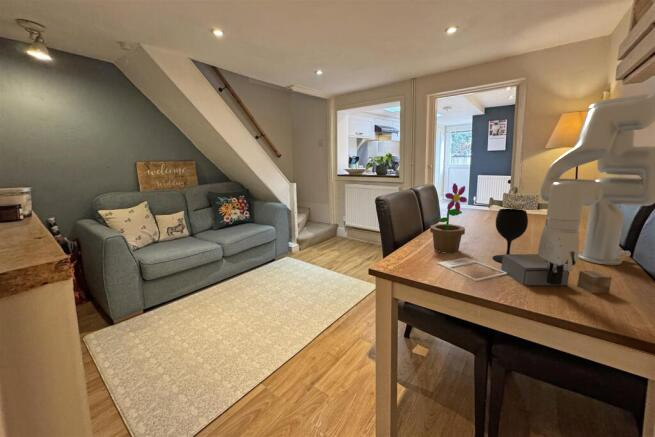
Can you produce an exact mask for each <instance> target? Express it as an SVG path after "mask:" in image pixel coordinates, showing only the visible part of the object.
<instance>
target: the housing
mask: <svg viewBox="0 0 655 437" xmlns="http://www.w3.org/2000/svg"><path fill="white" fill-rule="evenodd" d="M502 255H503V257H502V263H501V267H500V268H501V269H500V270H501V271H504V272H507V273H508V274H507V275H508V276H509V277H511V278H512V279H514V280H515V281H516V282H519V284H521V285H523V286H526V285H525V284H524V283H525V275H526V271H527V270H548V269H547V262H546V261H545V260H544V259H543V258H541V257H540V256H539V255H538V253H533V254H532V253H531V254H530V253H528V254H527V253H523V254H521V253H520V254H518V253H517V254H516V253H515V254H506V253H505V254H502Z"/></svg>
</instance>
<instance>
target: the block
mask: <svg viewBox="0 0 655 437" xmlns="http://www.w3.org/2000/svg"><path fill="white" fill-rule="evenodd" d="M612 278H613V277H612V276H610V275H608V274H606V273H604V272H600V271H599V270H579V274H578V280H577V287H579V288H580V289H583V290H584V291H586V292H588V293H590V294H609V293H610V288H611V283H612Z"/></svg>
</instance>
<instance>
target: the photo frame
mask: <svg viewBox="0 0 655 437" xmlns="http://www.w3.org/2000/svg"><path fill="white" fill-rule="evenodd" d="M473 264H477V265H480V266H483V267H486V268H488V269H491V270H494V271H495V272H499V273H496V274H493V275H488V276H483V277H478V278H475V277H472V276H471V275H468V274H466V273H464V272H461V271H460V270H459V271H458V270H456V269H455V268H458V267H462V266H463V267H464V266H468V265H473ZM437 265H439V266H441V267H443V268H445V269H448V270H449V271H450V270H451V271H452V272H453V273H454V272H455V273H457V274H459V275H461V276H464V277H465V278H468V279H470V280H472V281H475V282H480V281H484V280H485V281H486V280H489V279H492V278H493V279H494V278H497V277H501V276H506V275H508V273H507V272H504V271H502V270H501V269H498V268H495V267H494V266H490V265H488V264H484V263H482V262H479V261H476V260H475V259H472V258H469V257H461V258H457V259H451V260H446V261H445V260H444V261H441V262H439V261H438V262H437Z"/></svg>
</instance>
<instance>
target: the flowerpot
mask: <svg viewBox="0 0 655 437" xmlns="http://www.w3.org/2000/svg"><path fill="white" fill-rule="evenodd" d="M465 191H466V186H465V185H462V186H461V187H460V188H458V185H457V184H456V183H452V193H451V192H448V193H445V195H444V196H445V198H446V199H449V200H450V201H449V202H448V204H447V208H446V209H447V212H446V213H447V214H446V217H441V218H439V220H438V222H440V223H436V224H432V225H430V231H429V232H430V233H432V240H433V241H432V242H433V250H434V249H435V251H436V250H437V251H436V252H438V251H440V252H439V253H442V252H445V253H444V254H456V253H458V252H459V249H460V246H461V245H460V244H461V241H462V236H463V235H465V233H466V232H465V231H466V229H465V227H464V226H462V225H457V224H449V222H450V216H453V217H454V216H459V215H461V214H462V213H463V211H461V203H467V201H468V199H467V197H465V196H462V195H463V194H464V192H465ZM453 207H454V208H453ZM455 252H456V253H455Z"/></svg>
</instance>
